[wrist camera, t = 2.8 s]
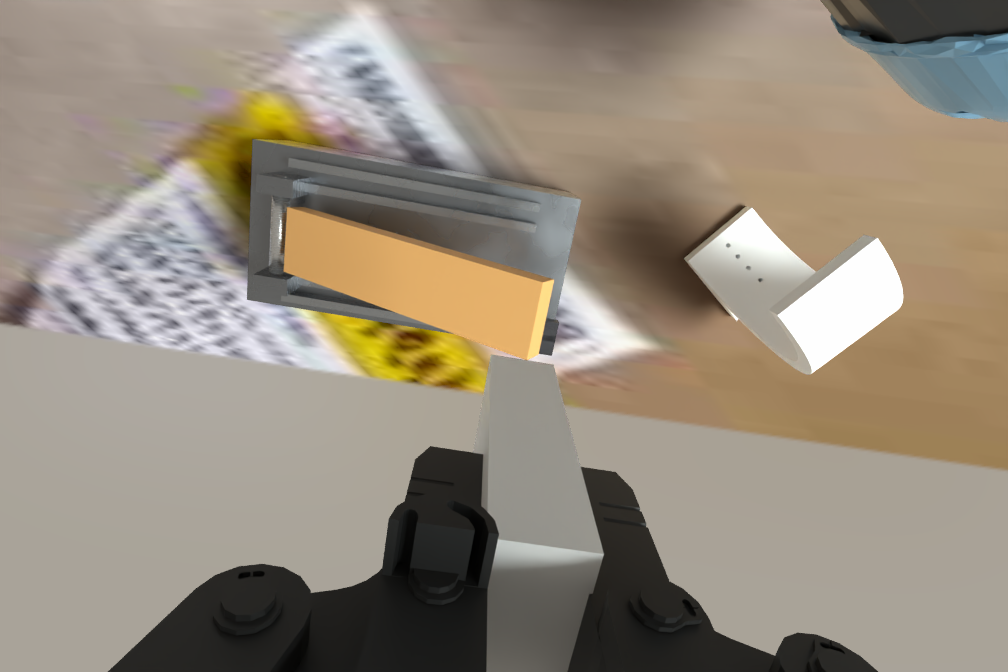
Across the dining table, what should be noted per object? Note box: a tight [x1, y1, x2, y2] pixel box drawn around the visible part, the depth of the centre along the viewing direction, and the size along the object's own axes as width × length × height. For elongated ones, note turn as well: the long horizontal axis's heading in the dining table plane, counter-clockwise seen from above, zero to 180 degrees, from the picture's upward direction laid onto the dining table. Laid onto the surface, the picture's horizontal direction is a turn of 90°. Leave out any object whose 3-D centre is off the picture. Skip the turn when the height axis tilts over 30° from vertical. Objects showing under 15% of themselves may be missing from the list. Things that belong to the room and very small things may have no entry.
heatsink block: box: [247, 139, 581, 356], centre depth 30 cm, size 16×8×8 cm, turn 80°
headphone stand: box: [684, 206, 903, 375], centre depth 28 cm, size 5×6×12 cm
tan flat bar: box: [284, 207, 554, 360], centre depth 24 cm, size 13×3×1 cm, turn 81°
